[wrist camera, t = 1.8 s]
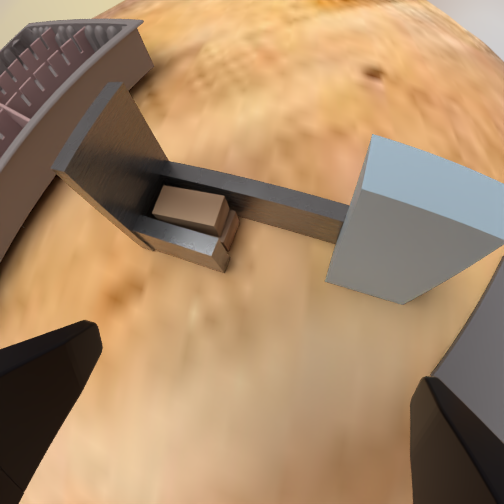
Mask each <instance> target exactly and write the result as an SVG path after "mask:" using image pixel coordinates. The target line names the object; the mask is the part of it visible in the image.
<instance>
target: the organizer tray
mask: <svg viewBox="0 0 504 504" xmlns="http://www.w3.org/2000/svg"><path fill="white" fill-rule="evenodd" d="M143 22H144V21H143V20H133V19H74V20H58V21H46V22H36V23H29V24H28V25H27V26H26V27H24V28H23V29H22V30H21V31H20V32H19V33H18V34H17V35H16V36H15V37H14V38H13V39H11V40H10V41H9V42H8V43H7V44H6V45H5V46H4V47H3V48H2V49H1V50H0V262H1V260H2V258H3V257H4V255H5V253H6V251H7V249H8V248H9V246H10V244H11V242H12V241H13V239H14V237H15V236H16V234H17V232H18V231H19V229H20V227H21V226H22V224H23V222H24V221H25V219H26V218H27V216H28V215H29V213H30V212H31V210H32V208H33V207H34V205H35V204H36V202H37V201H38V199H39V198H40V197H41V195H42V194H43V192H44V191H45V189H46V188H47V187H48V185H49V184H50V182H51V181H52V180H53V178H54V177H55V176H56V173H55V172H53V171H52V170H51V169H50V168H51V166H52V165H53V163H54V161H55V159H56V158H57V156H58V154H59V153H60V151H61V149H62V148H63V146H64V145H65V143H66V141H67V140H68V138H69V137H70V135H71V134H72V132H73V130H74V129H75V127H76V126H77V124H78V123H79V121H80V120H81V119H82V117H83V116H84V114H85V113H86V111H87V110H88V109H89V107H90V106H91V104H92V103H93V102H94V100H95V99H96V97H97V96H98V95H99V93H100V92H101V91H102V90H103V88H104V87H105V86H106V84H107V83H108V82H124V84H125V86H126V88H127V89H128V91H129V90H130V89H131V88H132V87H133V86H134V85H135V84H136V83H137V82H138V81H139V80H140V79H141V78H142V77H143V76H144V75H145V74H146V73H147V72H148V71H150V70H151V69H152V68H153V67H154V65H153V63H152V61H151V59H150V56H149V54H148V52H147V50H146V47H145V45H144V43H143V41H142V38H141V36H140V34H139V32H138V29H137V27H138V26H140V25H141V24H142V23H143ZM22 227H23V226H22ZM23 228H25V227H23Z"/></svg>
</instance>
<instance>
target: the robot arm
mask: <svg viewBox="0 0 504 504" xmlns="http://www.w3.org/2000/svg"><path fill="white" fill-rule="evenodd" d="M102 348H103V346H102V341H101V337H100V333H99V329H98V326H97V324H96V323H94V322H91V321H87V320H82V321H80V322H77V323H74V324H71V325H68V326H65V327H63V328H60V329H57V330H54V331H51V332H48V333H46V334H43V335H40V336H37V337H34V338H31V339H29V340H26V341H23V342H20V343H17V344H14V345H11V346H9V347H6V348H3V349H0V504H19V502H20V500H21V498H22V496H23V494H24V492H25V490H26V488H27V486H28V484H29V482H30V481H31V479H32V477H33V475H34V473H35V471H36V469H37V468H38V466H39V464H40V462H41V460H42V459H43V457H44V455H45V453H46V452H47V450H48V448H49V446H50V445H51V443H52V441H53V439H54V438H55V436H56V434H57V433H58V431H59V429H60V427H61V426H62V424H63V422H64V421H65V419H66V417H67V416H68V414H69V412H70V411H71V409H72V408H73V406H74V404H75V403H76V401H77V399H78V398H79V396H80V394H81V393H82V391H83V389H84V387H85V385H86V383H87V381H88V379H89V377H90V375H91V373H92V371H93V369H94V367H95V365H96V363H97V361H98V359H99V357H100V355H101V353H102ZM410 460H411V473H412V489H413V504H504V443H503V442H502V441H501V440H500V439H499V438H498V437H497V436H496V435H495V434H494V433H493V432H492V431H491V430H490V429H489V428H488V427H487V426H486V425H485V424H484V423H483V422H482V420H481V419H480V418H479V417H478V416H477V415H476V414H475V413H474V412H473V411H472V410H471V409H470V408H469V407H468V406H467V405H466V404H465V403H464V402H463V401H462V400H461V399H460V398H458V397H457V396H456V395H455V394H454V393H453V392H452V391H451V390H450V389H449V388H448V387H447V386H446V385H445V384H444V383H443V382H442V381H441V380H440V379H439V378H438V377H430V376H425V377H423V378H422V379H421V380H420V382H419V384H418V386H417V389H416V391H415V393H414V394H413V396H412V399H411V403H410Z"/></svg>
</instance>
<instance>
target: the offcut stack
mask: <svg viewBox="0 0 504 504" xmlns="http://www.w3.org/2000/svg"><path fill="white" fill-rule="evenodd" d="M152 214H153V215H154V216H155V217H156V218H157V219H158V220H159V221H162V222H166V223H169V224H172V225H176V226H179V227H183V228H186V229H189V230H193V231H196V232H199V233H203V234H206V235H209V236H213V237H216V238H219V240H220V242H221V243H222V245H223V247H224V248H225V250H226V251H229V249H230V247H231V244H232V241H233V239H234V236H235V234H236V231H237V229H238V226H239V224H240V222H239V219H238V216H237V214H236V212H235V211H231V210H230V209H229V206H228V204H227V201H226V199H225V196H222V195H217V194H211V193H206V192H200V191H194V190H188V189H182V188H177V187H170V186H164V185H163V188H162V190H161V192H160V195H159V197H158V199H157V202H156V204H155V207H154V209H153V212H152Z"/></svg>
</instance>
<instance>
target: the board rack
mask: <svg viewBox="0 0 504 504" xmlns="http://www.w3.org/2000/svg"><path fill="white" fill-rule="evenodd" d="M50 169H51V170H52V171H53V172H55V173H56V174H57V175H58V176H59V177H60V178H61V179H62V180H63V181H64V182H66V183H67V184H68V185H69V186H70V187H71V188H72V189H73V190H75V191H76V192H77V193H78V194H79V195H80V196H81V197H83V198H84V199H85V200H86V201H87V202H88V203H89V204H91V205H92V206H93V207H94V208H95V209H96V210H98V211H99V212H100V213H101V214H102V215H103V216H105V217H106V218H107V219H108V220H109V221H111V222H112V223H113V224H114V225H115V226H116V227H118V228H119V229H120V230H121V231H122V232H124V233H125V234H126V235H127V236H129V237H130V238H131V239H132V240H133V241H135V242H136V243H137V244H138V245H140V246H141V247H143V248H146V249H148V250H151V251H154V250H157V251H160V252H163V253H166V254H169V255H172V256H175V257H178V258H181V259H183V260H186V261H189V262H192V263H195V264H198V265H201V266H204V267H207V268H210V269H213V270H216V271H220V272H223V273H224V272H225V270H226V267H227V265H228V262H229V259H230V257H229V255H228V254H227V252H226V250H225V248H224V247H223V245H222V243H221V242H220V240H219V238H216V237H213V236H209V235H206V234H203V233H199V232H196V231H193V230H189V229H186V228H183V227H179V226H176V225H172V224H169V223H166V222H162V221H159V220H158V219H157V218H156V217H155V216H154V215H153V214H152V212H153V209H154V207H155V204H156V202H157V199H158V197H159V195H160V192H161V190H162V188H163V185H164V186H170V187H177V188H182V189H188V190H194V191H200V192H206V193H211V194H217V195H222V196H225V199H226V201H227V204H228V206H229V209H230V210H231V211H235V212H236V214H237V216H240V217H243V218H247V219H250V220H254V221H258V222H261V223H265V224H268V225H272V226H275V227H279V228H282V229H286V230H289V231H293V232H296V233H300V234H303V235H307V236H310V237H313V238H317V239H320V240H324V241H327V242H330V243H334V244H336V243H337V240H338V237H339V234H340V232H341V229H342V226H343V223H344V220H345V218H346V215H347V212H348V209H349V205H345V204H342V203H338V202H335V201H332V200H328V199H324V198H321V197H317V196H314V195H310V194H306V193H303V192H299V191H295V190H292V189H288V188H284V187H280V186H276V185H272V184H268V183H264V182H260V181H256V180H252V179H248V178H244V177H240V176H235V175H231V174H227V173H222V172H218V171H213V170H209V169H204V168H200V167H195V166H190V165H185V164H180V163H176V162H171V161H169V160H168V159H167V157H166V155H165V153H164V152H163V150H162V148H161V147H160V145H159V143H158V142H157V140H156V138H155V136H154V135H153V133H152V131H151V130H150V128H149V126H148V124H147V123H146V121H145V119H144V117H143V116H142V114H141V112H140V110H139V109H138V107H137V105H136V104H135V102H134V100H133V98H132V96H131V95H130V93H129V91H128V89H127V88H126V86H125V84H124V82H108V83H107V84H106V86H105V87H104V88H103V90H102V91H101V92H100V93H99V95H98V96H97V97H96V99H95V100H94V102H93V103H92V104H91V106H90V107H89V109H88V110H87V111H86V113H85V114H84V116H83V117H82V119H81V120H80V121H79V123H78V124H77V126H76V127H75V129H74V130H73V132H72V134H71V135H70V137H69V138H68V140H67V141H66V143H65V145H64V146H63V148H62V149H61V151H60V153H59V154H58V156H57V158H56V159H55V161H54V163H53V165H52V166H51V168H50Z"/></svg>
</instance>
